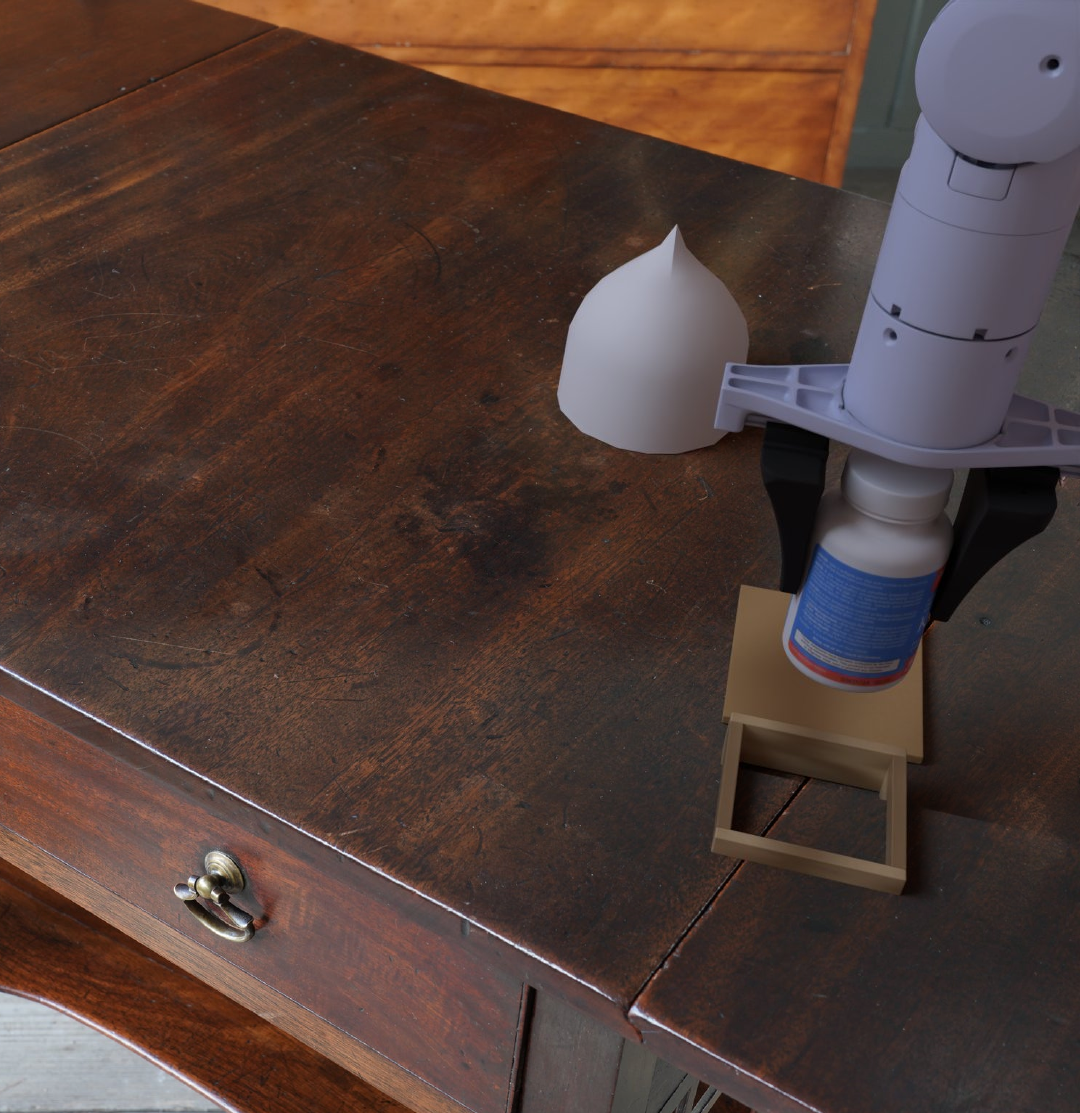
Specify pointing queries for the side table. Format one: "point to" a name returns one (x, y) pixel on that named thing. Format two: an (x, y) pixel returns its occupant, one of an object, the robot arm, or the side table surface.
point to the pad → (812, 684)
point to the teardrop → (652, 353)
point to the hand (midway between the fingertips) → (864, 592)
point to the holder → (819, 760)
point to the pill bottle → (870, 574)
